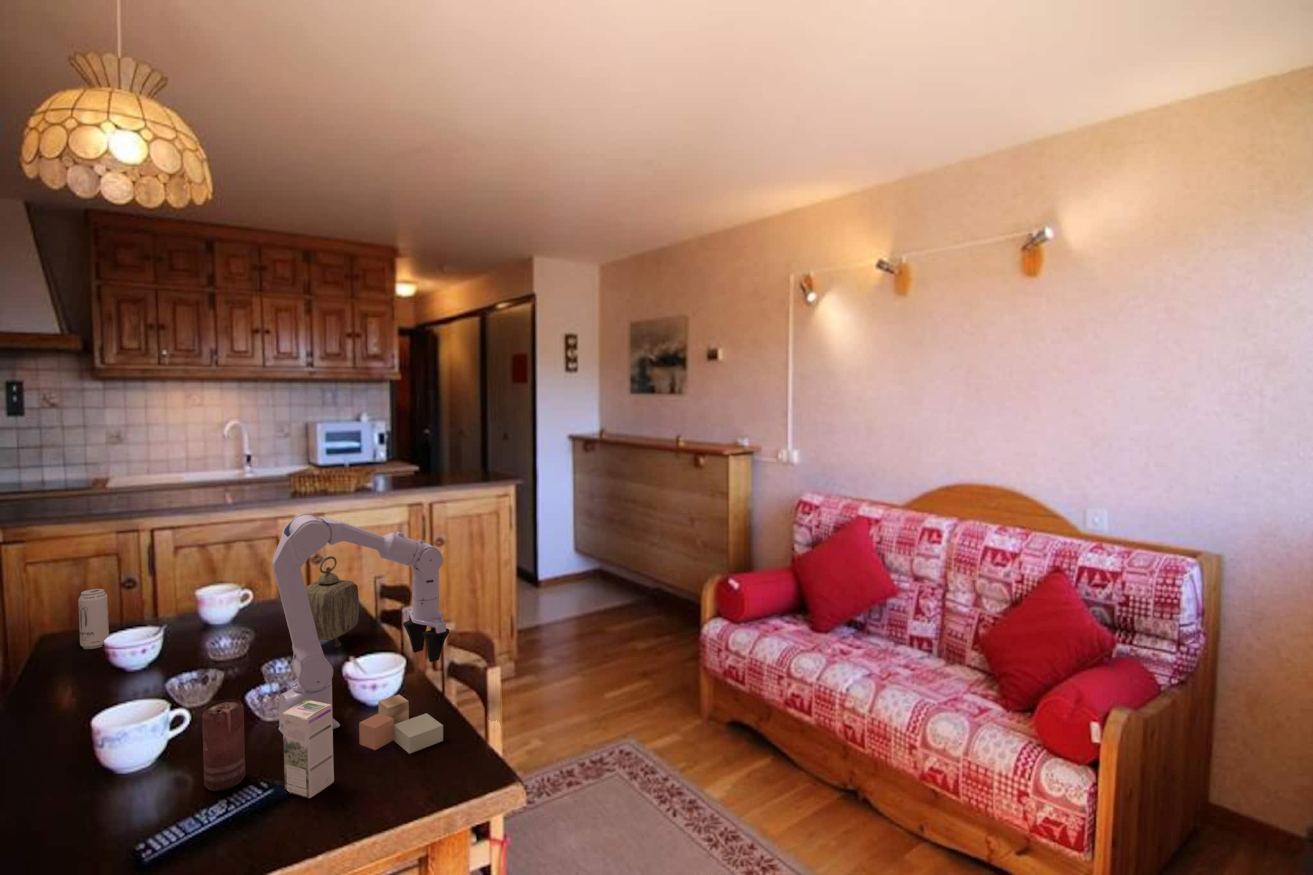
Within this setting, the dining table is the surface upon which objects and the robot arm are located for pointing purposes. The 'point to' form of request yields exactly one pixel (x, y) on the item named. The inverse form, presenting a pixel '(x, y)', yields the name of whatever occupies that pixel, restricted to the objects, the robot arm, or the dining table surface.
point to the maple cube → (395, 708)
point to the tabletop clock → (333, 604)
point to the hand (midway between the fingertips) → (426, 655)
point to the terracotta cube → (376, 731)
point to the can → (223, 744)
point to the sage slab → (418, 733)
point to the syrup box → (308, 748)
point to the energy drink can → (93, 618)
